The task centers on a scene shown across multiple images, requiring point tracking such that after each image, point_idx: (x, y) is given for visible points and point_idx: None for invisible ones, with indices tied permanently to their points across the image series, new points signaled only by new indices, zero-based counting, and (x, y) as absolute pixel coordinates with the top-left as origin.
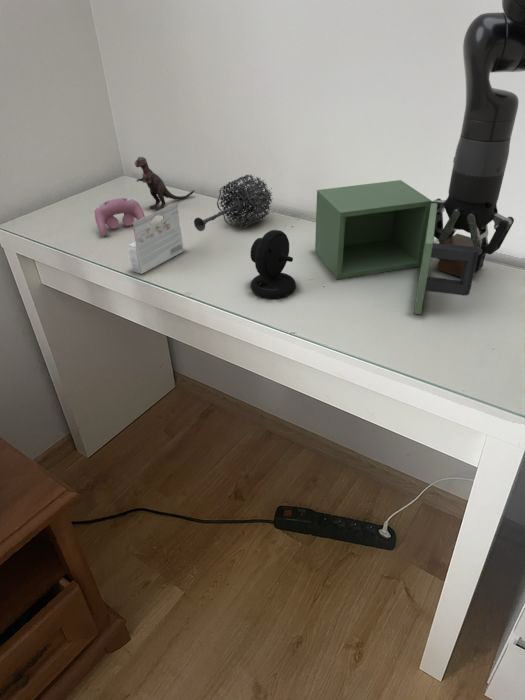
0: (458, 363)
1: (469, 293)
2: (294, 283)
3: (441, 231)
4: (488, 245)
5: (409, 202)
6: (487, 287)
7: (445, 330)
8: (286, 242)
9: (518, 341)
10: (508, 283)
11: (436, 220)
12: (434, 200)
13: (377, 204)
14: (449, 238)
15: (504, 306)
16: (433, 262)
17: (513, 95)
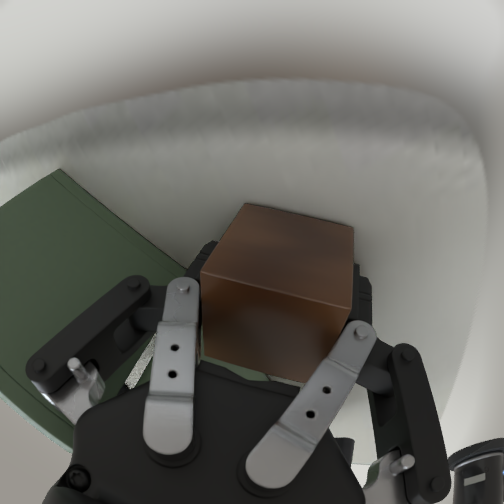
0: (364, 450)
1: (354, 442)
2: None
3: (156, 322)
4: (371, 406)
5: (70, 450)
6: (397, 314)
7: (338, 426)
8: None
9: (439, 418)
10: (454, 273)
11: (116, 361)
12: (44, 397)
13: (56, 442)
14: (204, 325)
15: (433, 365)
16: (204, 236)
17: None
